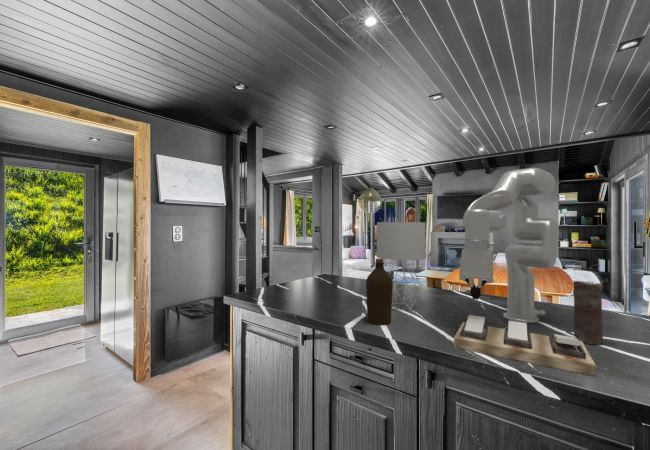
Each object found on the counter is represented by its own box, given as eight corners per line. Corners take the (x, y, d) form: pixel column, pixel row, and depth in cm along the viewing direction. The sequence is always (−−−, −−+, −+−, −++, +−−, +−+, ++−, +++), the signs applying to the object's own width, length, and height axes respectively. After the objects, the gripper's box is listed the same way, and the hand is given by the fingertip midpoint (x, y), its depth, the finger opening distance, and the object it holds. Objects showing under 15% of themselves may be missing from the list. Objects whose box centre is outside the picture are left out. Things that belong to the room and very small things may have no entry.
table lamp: (392, 298, 162) (393, 222, 162) (433, 306, 146) (433, 222, 147) (366, 306, 146) (367, 222, 146) (409, 316, 130) (410, 222, 131)
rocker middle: (526, 327, 99) (526, 323, 99) (527, 345, 90) (527, 340, 90) (508, 324, 102) (508, 320, 102) (507, 341, 93) (507, 337, 93)
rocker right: (573, 342, 93) (573, 337, 93) (580, 346, 84) (579, 340, 84) (553, 338, 96) (553, 334, 96) (557, 342, 87) (557, 337, 87)
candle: (567, 337, 107) (568, 279, 107) (587, 336, 108) (587, 279, 108) (588, 345, 100) (588, 284, 100) (609, 345, 100) (609, 283, 100)
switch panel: (582, 351, 95) (582, 336, 95) (595, 376, 79) (595, 358, 79) (462, 330, 113) (463, 318, 113) (453, 347, 97) (454, 333, 97)
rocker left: (484, 320, 106) (484, 317, 106) (481, 337, 97) (481, 332, 96) (468, 318, 108) (468, 314, 108) (464, 333, 99) (464, 329, 99)
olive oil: (373, 327, 116) (374, 260, 116) (361, 318, 126) (361, 257, 126) (397, 324, 120) (398, 260, 120) (383, 316, 130) (384, 257, 130)
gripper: (502, 246, 105) (501, 300, 105) (455, 244, 113) (454, 294, 113) (501, 246, 99) (499, 304, 98) (451, 244, 107) (450, 297, 106)
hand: (475, 298), depth 106 cm, fingers closed
